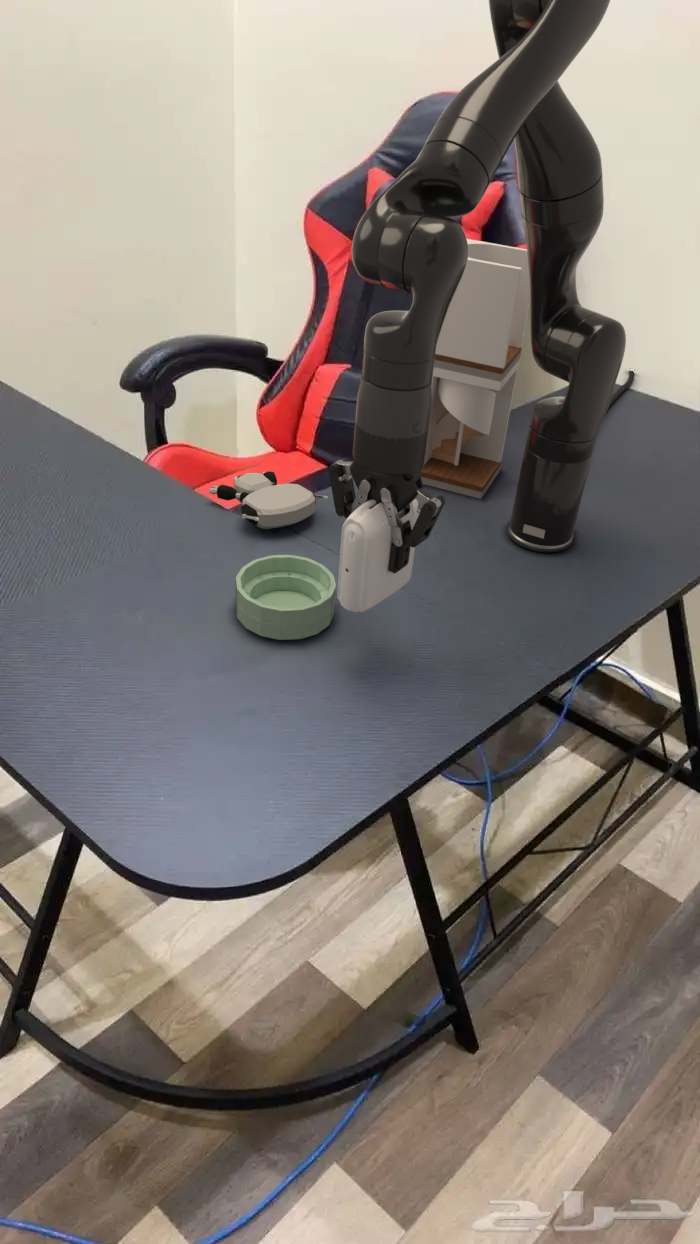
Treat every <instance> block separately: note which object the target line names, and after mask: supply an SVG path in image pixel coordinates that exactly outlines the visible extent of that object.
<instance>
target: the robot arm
mask: <svg viewBox="0 0 700 1244" xmlns="http://www.w3.org/2000/svg"><path fill="white" fill-rule="evenodd" d="M610 3H611V0H488V7H489V15H490V21H491V27H492V32H493V37H494V42H495V48H496V51H497V57H498V59H496V60H495V62H493V63H492V64H490V65H489V66H488V67H487V68H486V69H485V70H483V71H482V72H481V73H480V74H478V75H477V76H476V77H474V78H472V80H471V81H469V82H468V83H467V84H466V85H465V86H464V87H463V88H462V89H461V90H460V91H459V92H457V94H456V95H455V96H454V98H453V99H451V101H450V102H449V103H448V104H447V105H446V106H445V108H444V110H443V111H442V113H441V114H440V115H439V117H438V119H437V121H436V123H435V125H434V126H433V128H432V129H431V131H430V133H429V135H428V137H427V138H426V141H425V143H424V144H423V146H422V149H421V151H420V152H419V154H418V156H417V157H416V159H415V160H414V161H413V162H412V163H411V164H410V165H409V166H407V167H406V168H405V170H403V171H402V172H401V173H400V174H399V175H398V176H397V178H395V179H394V180H393V182H391V183H390V184H389V186H387V187H386V188H385V190H383V191H382V192H381V193H380V194H379V195H378V196H377V197H376V198H375V199H374V201H372V203H371V204H370V205H369V206H368V207H367V209H366V210H365V212H364V213H363V214H362V216H361V218H360V220H359V222H358V223H357V225H356V228H355V231H354V234H353V238H352V241H351V243H352V244H351V259H352V260H351V261H352V264H353V267H354V269H355V272H356V273H357V275H358V276H359V277H360V278H361V279H363V281H365V282H367V283H369V284H372V285H375V286H379V287H382V288H385V289H390V290H394V291H398V292H402V293H405V294H408V295H412V302H411V305H410V306H411V307H410V309H409V310H402V309H401V310H396V309H395V310H393V309H392V310H385V311H381V312H378V313H376V314H374V315H372V316H371V317H370V318H369V319H368V321H367V323H366V326H365V330H364V339H363V351H362V365H361V374H360V381H359V385H358V390H357V394H356V404H355V416H354V417H355V419H354V428H353V444H352V459H353V460H352V461H350V460H349V459H348V458H347V457H343V458H340V459H339V460H337V461H335V462H333V463H332V464H330V465H329V466H328V469H327V470H328V477H329V483H330V487H331V494H332V498H333V505H334V510H335V514H336V515H337V516H338V517H340V518H342V517H344V518H346V519H347V518H348V517H349V516H350V515H351V514H352V513H353V512H354V511H355V510H356V509H357V508H358V507H359V506H361V505H362V504H364V503H365V502H366V501H368V500H375V501H376V502H377V504H379V503H383V504H384V508H385V514H386V517H387V519H388V524H389V526H391V532H392V538H393V543H392V544H391V552H390V561H389V571H390V572H392V573H394V574H395V573H397V572H398V571H400V570H401V569H402V568H404V567H405V566H407V564H408V562H409V554H410V547H415V548H416V547H417V546H419V545H420V544H421V543H423V542H424V541H426V540H427V539H428V538H429V537H430V535H431V532H432V531H433V529H434V527H435V524H436V522H437V521H438V519H439V516H440V514H441V512H442V510H443V508H444V506H445V504H446V499H445V497H444V496H443V495H441V494H438V495H436V496H433V495H432V494H431V493H429V492H428V491H427V490H425V489H424V484H423V482H422V479H421V471H422V467H423V464H424V459H425V451H426V443H427V436H428V428H429V420H430V412H431V403H432V378H433V370H434V362H435V354H436V346H437V341H438V338H439V335H440V332H441V329H442V326H443V323H444V320H445V317H446V314H447V312H448V309H449V306H450V304H451V301H452V299H453V297H454V295H455V292H456V290H457V288H458V286H459V283H460V281H461V279H462V276H463V274H464V271H465V268H466V264H467V260H468V244H467V239H468V238H467V236H466V233H465V231H464V229H463V227H462V225H461V224H460V223H459V222H457V221H456V220H455V219H453V218H459V217H463V216H467V215H469V214H470V213H472V212H473V211H475V209H476V208H477V206H478V205H479V204H480V202H481V201H482V199H483V197H484V195H485V194H486V191H487V190H488V188H489V186H490V185H491V182H492V180H493V179H494V177H495V175H496V173H497V172H498V169H499V167H500V166H501V164H502V162H503V160H504V158H505V156H506V155H507V152H508V150H509V149H510V147H511V145H512V143H514V150H515V159H516V160H515V161H516V168H517V169H516V170H517V183H518V191H519V192H518V193H519V199H520V207H521V215H522V216H521V217H522V221H523V228H524V235H525V245H526V249H527V255H528V267H529V277H530V305H529V309H530V310H529V311H530V346H531V347H530V348H531V352H532V356H533V360H534V361H535V363H536V365H537V366H538V367H539V369H541V370H542V371H544V372H545V373H547V374H550V375H552V376H554V377H555V378H558V379H560V380H563V381H564V382H566V383H568V386H567V390H566V393H565V396H551V397H546V398H543V399H540V400H539V401H537V402H536V403H535V404H534V405H533V407H532V411H531V414H530V420H529V425H528V430H527V435H526V440H525V444H524V449H523V450H524V451H523V456H522V461H521V465H520V471H519V476H518V481H517V487H516V491H515V497H514V502H513V506H512V511H511V517H510V521H509V524H508V528H507V534H508V537H509V538H510V539H511V541H512V542H514V543H515V544H517V545H518V546H520V547H522V548H524V549H527V550H530V551H533V552H538V553H559V552H562V551H565V550H566V549H568V548H570V546H571V545H572V543H573V538H574V531H575V527H576V523H577V519H578V515H579V511H580V507H581V503H582V498H583V495H584V492H585V491H584V490H585V486H586V482H587V477H588V474H589V469H590V466H591V461H592V457H593V452H594V448H595V444H596V440H597V436H598V433H599V429H600V426H601V424H602V422H603V420H604V418H605V416H606V415H607V412H608V410H609V409H610V407H611V406H612V405H613V404H614V402H616V400H617V399H618V398H619V397H620V396H621V395H622V394H623V393H624V392H625V391H626V390H627V389H628V388H629V387H630V386H631V385H632V383H633V381H634V378H635V373H634V372H633V371H630V369H629V370H628V374H629V375H628V378H627V380H626V382H625V383H623V384H622V385H621V386H620V387H621V388H620V387H619V388H618V389H617V390H616V391H615V387H616V384H617V380H618V378H619V373H620V371H621V367H622V364H623V360H624V356H625V351H626V347H627V345H626V344H627V334H626V329H625V327H624V326H623V324H622V323H621V322H620V321H618V320H617V319H615V318H612V317H610V316H607V315H605V314H602V313H600V312H597V311H595V310H592V309H589V308H586V307H584V306H582V305H581V303H580V301H579V296H578V292H577V268H578V265H579V262H580V261H581V259H582V258H583V256H584V254H585V253H586V251H587V249H588V248H589V247H590V245H591V243H592V241H593V240H594V238H595V236H596V234H597V233H598V230H599V228H600V226H601V223H602V220H603V217H604V206H605V205H604V204H605V203H604V201H605V199H604V179H603V177H604V176H603V164H602V157H601V152H600V150H599V147H598V144H597V143H596V140H595V139H594V136H593V135H592V133H591V131H590V130H589V128H588V126H587V124H586V123H585V122H584V120H583V118H581V116H580V114H579V113H578V111H577V109H576V108H575V107H574V105H573V104H572V102H571V101H570V100H569V98H568V97H567V95H566V93H565V92H564V90H563V88H562V86H561V84H560V82H559V79H560V78H561V77H562V76H563V74H564V73H565V72H566V71H567V69H568V68H569V67H570V66H571V64H572V63H573V62H574V60H575V59H576V58H577V56H578V55H579V54H580V53H581V51H582V50H583V49H584V47H585V46H586V45H587V44H588V42H589V41H590V39H591V38H592V36H593V35H594V34H595V33H596V31H597V29H598V27H599V26H600V24H601V22H602V21H603V20H604V17H605V14H606V13H607V10H608V8H609V5H610ZM623 388H624V389H623ZM614 391H615V393H614ZM613 393H614V394H613ZM354 483H355V485H356V488H357V494H356V490H355V485H354ZM414 499H416V500H417V501H418V509H417V513H418V514H419V516H418V518H417V520H416V522H415V525H414V527H413V522H412V518H413V516H414V510H413V504H412V501H413V500H414ZM403 509H404V510H403ZM401 510H403V512H402V513H401V514H399V515H398V512H400V511H401Z"/></svg>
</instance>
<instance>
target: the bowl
mask: <svg viewBox="0 0 700 1244" xmlns="http://www.w3.org/2000/svg"><path fill="white" fill-rule="evenodd" d="M336 598H337V582H336V579H335V575H334V573H332V572H331V570H330V569H328V568H327V567H326V565H324V564H322V563H320V562H318V561H316V560H313V559H311V558H310V557H304V556H300V555H294V554H271V555H267V556H264V557H259V558H256V559H253V560H251V561H250V562H248V563H247V564H245V565H244V566H241V568H240V570H239V572H238V573H237V575H236V577H235V613H236V619H237V620H239V622H240V623H241V624H242V626H243V627H244V628H245V629H246V630H249V631H250V632H253V633H254V634H256V635H259V636H260V637H264V638H269V639H272V640H273V639H274V640H278V641H280V640H281V641H285V640H302V639H305V638H309V637H312V636H315V635H318V634H320V632H322V631H323V630H325V629H326V628H327V627H329V626H330V624H331V623H332V620H333V618H334V616H335V610H336V609H335V608H336Z"/></svg>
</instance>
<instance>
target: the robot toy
mask: <svg viewBox="0 0 700 1244" xmlns="http://www.w3.org/2000/svg"><path fill="white" fill-rule="evenodd" d="M208 492H209V493H210V494H211V495H216V497H217V499H219V500H224V501H232V500H235V499H236V500H237V501H238V502H239V503H240V504H242V505H241V507H240V508H241V509H240V511H241V518H242V519H244V520H246V521H247V522H249V523H250V524H252V525H254V526H256V527H257V528H260V529H263V530H269V529H270V530H271V529H276V528H277V529H278V528H282V527H288V526H292V525H295V524H297V523H299V522H302V521H305V519H307V518H309V517H310V516H312V515H313V514H314V513H315V512H316V504H317V498H318V499H319V498H320V499H324V500H328V499H329V497H328V496H327V495H321V494H315V493H314V492H312V491H311V490H309V488H306V487H304V486H302V485H300V484H299V483H280V484H278V479H277V476H276V473H275V472H274V471H272V470H270V471H263V472H262V473H261V472H244V474H240V475H235V476H234V477H233V486H230V485H226V484H220V485H213V486H211V487H210V488H209V489H208Z"/></svg>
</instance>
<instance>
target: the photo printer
mask: <svg viewBox="0 0 700 1244" xmlns="http://www.w3.org/2000/svg"><path fill="white" fill-rule="evenodd" d="M412 504H413V510H414V516H413V518H412V522H413V527H414V525H415V522H416V520H417V518H418V516H419V514H418V513H417V509H418V501H417V500H416V499H414V500H413V501H412ZM403 510H404V509H403ZM403 510H401V511H400V512H398V515H399V514H401V513H402V512H403ZM340 536H341V537H340V550H339V564H338V565H339V566H338V576H337V577H338V578H337V579H338V580H337V589H336V598H337V600H338V601H339V604H340V606H341V607H342V608H343V609H345V610H347V611H349V612H352V613H363V612H365V611H368V610H369V609H371V608H372V607H375V606H376V605H378V604H379V603H381V602H382V601H384V600H385V599H387V598H388V597H390V596H391V595H393V594H395V593H396V592H398V591H399V590H400V589H402V588H403V587H404V586H405V585H407V584H408V583H409V582H410V581H411V577H412V573H413V567H414V566H413V565H414V557H415V550H416V547H410V554H409V562H408V564H407V566H405V567H404V568H402V569H401V570H400V571H398V572H397V573H395V574H394V573H392V572H390V571H389V561H390V552H391V544H392V543H393V538H392V532H391V526H389V524H388V519H387V517H386V514H385V508H384V504H383V503H379V504H377V502H376V501H375V500H368V501H366V502H365V503H364V504H362V505H361V506H359V507H358V508H357V509H356V510H355V511H354V512H353V513H352V514H351V515H350V516H349V517H348V518H346V519H345V521H344V523H343V524H342V527H341V535H340Z"/></svg>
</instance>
